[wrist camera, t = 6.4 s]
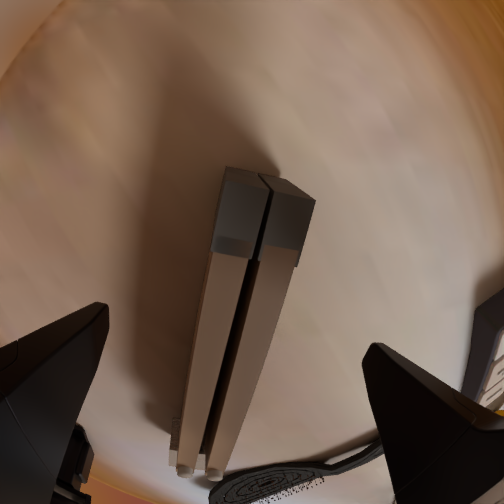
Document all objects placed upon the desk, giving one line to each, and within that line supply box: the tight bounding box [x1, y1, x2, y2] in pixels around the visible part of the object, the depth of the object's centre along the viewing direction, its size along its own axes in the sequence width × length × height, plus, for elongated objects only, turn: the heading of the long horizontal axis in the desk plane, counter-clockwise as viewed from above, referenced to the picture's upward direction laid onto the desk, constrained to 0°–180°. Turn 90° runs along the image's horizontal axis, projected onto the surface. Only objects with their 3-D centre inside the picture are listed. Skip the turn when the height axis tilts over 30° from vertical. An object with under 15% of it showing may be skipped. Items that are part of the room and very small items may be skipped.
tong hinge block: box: [169, 418, 206, 470], centre depth 20 cm, size 4×3×3 cm
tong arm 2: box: [176, 166, 270, 478], centre depth 14 cm, size 1×19×6 cm, turn 166°
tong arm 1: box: [205, 173, 316, 481], centre depth 15 cm, size 1×19×6 cm, turn 167°
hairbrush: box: [208, 438, 384, 504], centre depth 24 cm, size 8×4×25 cm
